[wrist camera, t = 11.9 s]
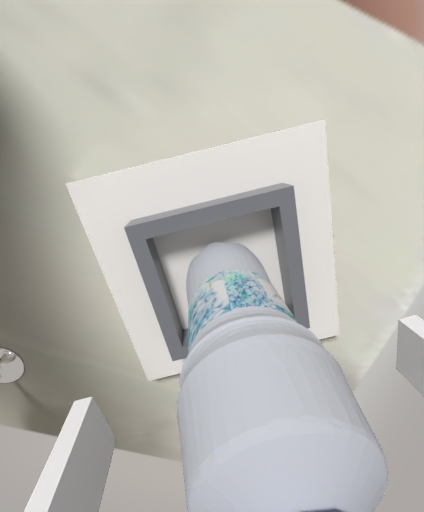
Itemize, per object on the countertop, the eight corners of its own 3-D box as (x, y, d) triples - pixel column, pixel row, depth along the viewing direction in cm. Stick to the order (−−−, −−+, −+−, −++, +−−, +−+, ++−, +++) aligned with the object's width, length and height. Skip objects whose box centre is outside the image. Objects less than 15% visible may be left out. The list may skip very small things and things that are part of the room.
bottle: (267, 290, 24) (540, 743, 5) (198, 312, 24) (227, 823, 6) (248, 222, 22) (614, 606, 3) (172, 248, 22) (72, 750, 3)
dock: (73, 182, 21) (48, 186, 17) (315, 121, 21) (343, 113, 17) (150, 370, 28) (144, 402, 24) (332, 325, 28) (353, 351, 24)
